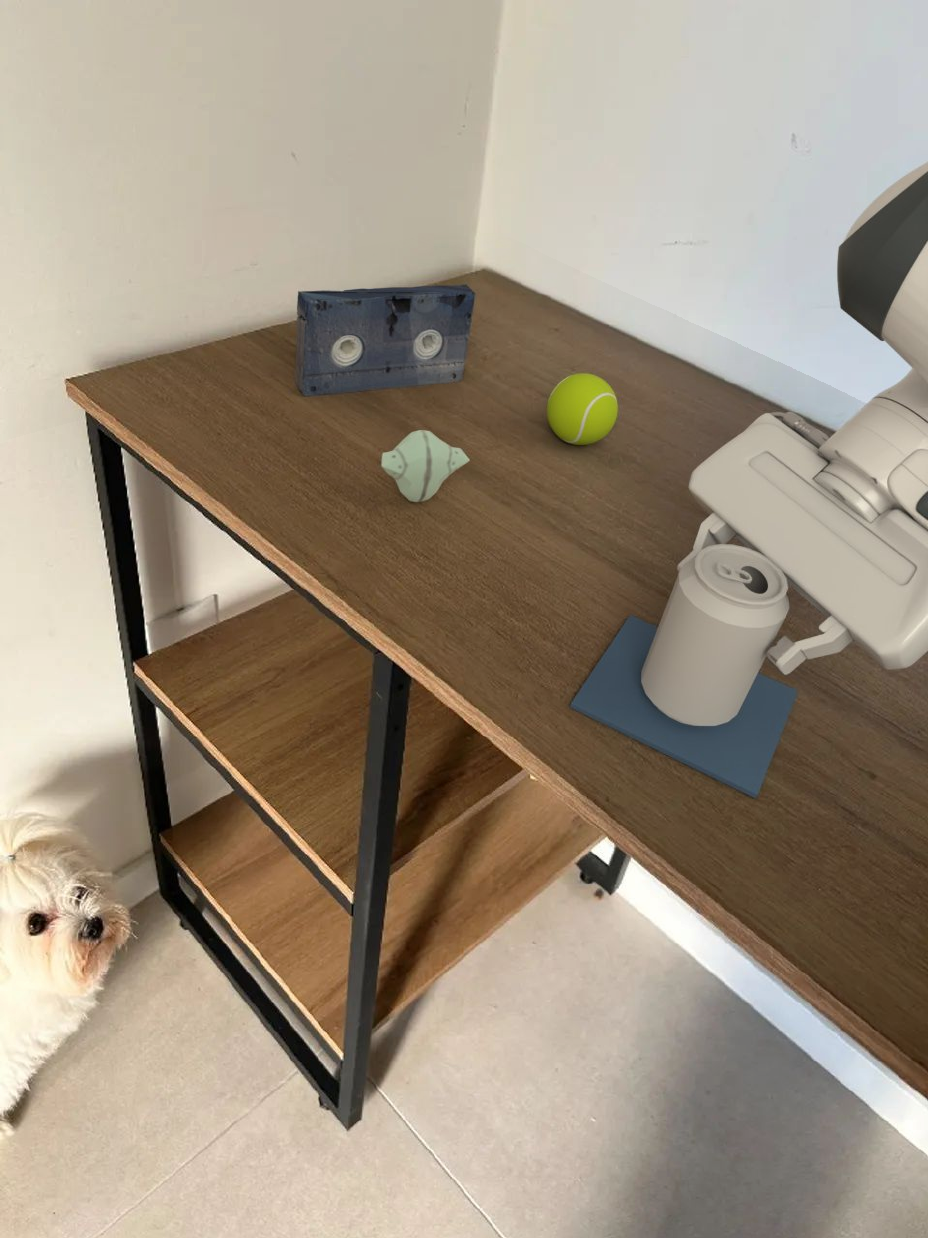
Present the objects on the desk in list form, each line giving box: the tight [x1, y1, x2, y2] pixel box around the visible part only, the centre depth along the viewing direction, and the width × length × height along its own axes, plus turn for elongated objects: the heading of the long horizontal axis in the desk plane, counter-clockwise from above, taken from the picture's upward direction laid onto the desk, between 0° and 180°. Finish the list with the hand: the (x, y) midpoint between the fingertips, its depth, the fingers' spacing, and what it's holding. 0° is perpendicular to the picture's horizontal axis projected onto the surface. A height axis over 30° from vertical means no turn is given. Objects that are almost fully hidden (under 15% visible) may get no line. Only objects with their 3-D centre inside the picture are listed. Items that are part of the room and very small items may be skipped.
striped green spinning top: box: [380, 429, 471, 503], centre depth 81 cm, size 8×4×7 cm, turn 110°
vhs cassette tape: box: [294, 284, 477, 397], centre depth 95 cm, size 18×3×10 cm, turn 115°
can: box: [641, 543, 790, 726], centre depth 65 cm, size 8×8×12 cm
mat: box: [569, 614, 799, 799], centre depth 69 cm, size 14×12×1 cm
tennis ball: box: [546, 372, 619, 446], centre depth 93 cm, size 7×7×7 cm
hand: (728, 619), depth 64 cm, fingers open, 8 cm apart
